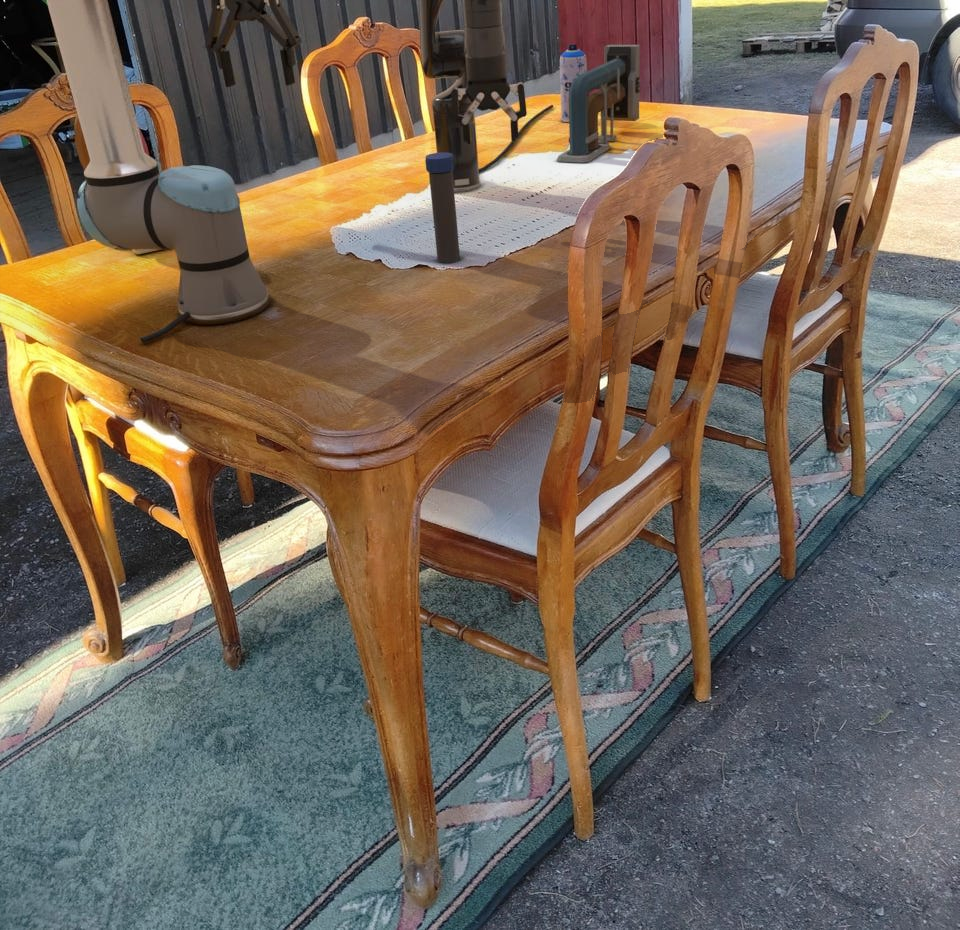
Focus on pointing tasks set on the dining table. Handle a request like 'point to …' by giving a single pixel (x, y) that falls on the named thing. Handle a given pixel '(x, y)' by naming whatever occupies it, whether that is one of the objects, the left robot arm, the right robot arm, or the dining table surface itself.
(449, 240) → the bottle
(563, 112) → the aerosol can
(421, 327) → the dining table surface
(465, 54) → the right robot arm
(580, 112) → the clamp
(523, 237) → the dining table surface
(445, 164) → the lid
